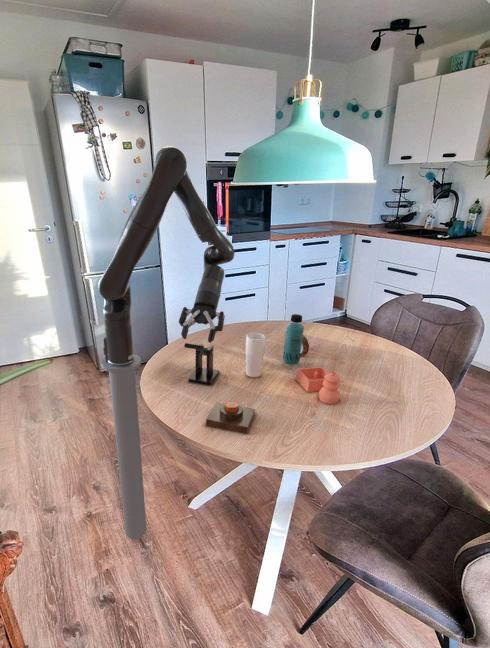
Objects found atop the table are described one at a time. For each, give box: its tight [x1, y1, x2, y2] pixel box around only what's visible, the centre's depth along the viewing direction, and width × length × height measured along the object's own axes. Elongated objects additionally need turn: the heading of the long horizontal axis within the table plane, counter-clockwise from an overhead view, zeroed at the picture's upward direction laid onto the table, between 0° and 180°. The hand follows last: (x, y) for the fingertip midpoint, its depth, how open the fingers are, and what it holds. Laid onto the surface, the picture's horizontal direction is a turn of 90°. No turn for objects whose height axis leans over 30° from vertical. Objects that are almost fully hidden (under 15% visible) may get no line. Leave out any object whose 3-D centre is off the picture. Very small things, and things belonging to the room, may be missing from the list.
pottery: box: [295, 366, 341, 405], centre depth 129 cm, size 18×10×10 cm, turn 14°
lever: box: [183, 342, 209, 357], centre depth 127 cm, size 14×6×2 cm, turn 166°
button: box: [224, 400, 239, 413], centre depth 111 cm, size 4×4×2 cm
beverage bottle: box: [282, 313, 305, 366], centre depth 144 cm, size 6×7×20 cm
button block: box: [205, 401, 256, 435], centre depth 112 cm, size 12×10×4 cm
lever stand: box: [188, 343, 220, 386], centre depth 134 cm, size 10×8×12 cm
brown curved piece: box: [284, 332, 310, 356], centre depth 159 cm, size 15×3×8 cm, turn 22°
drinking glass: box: [245, 332, 267, 378], centre depth 137 cm, size 7×7×15 cm
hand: (196, 339), depth 122 cm, fingers open, 8 cm apart
